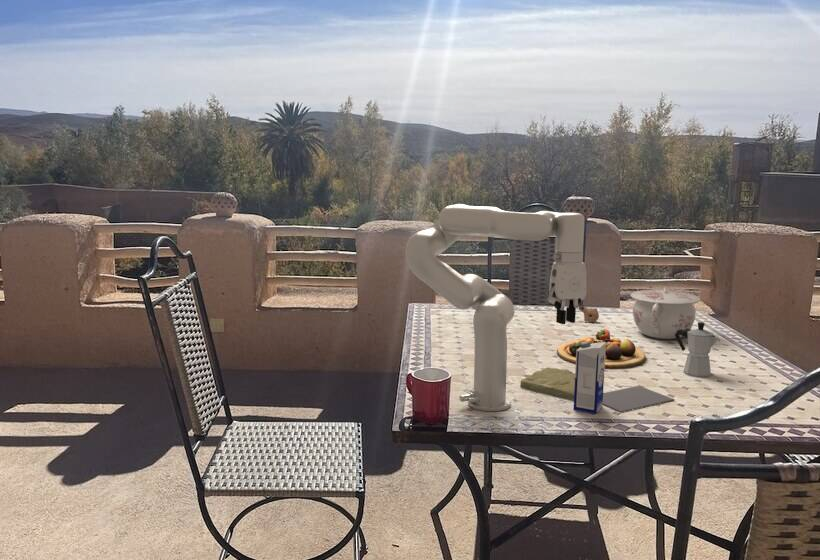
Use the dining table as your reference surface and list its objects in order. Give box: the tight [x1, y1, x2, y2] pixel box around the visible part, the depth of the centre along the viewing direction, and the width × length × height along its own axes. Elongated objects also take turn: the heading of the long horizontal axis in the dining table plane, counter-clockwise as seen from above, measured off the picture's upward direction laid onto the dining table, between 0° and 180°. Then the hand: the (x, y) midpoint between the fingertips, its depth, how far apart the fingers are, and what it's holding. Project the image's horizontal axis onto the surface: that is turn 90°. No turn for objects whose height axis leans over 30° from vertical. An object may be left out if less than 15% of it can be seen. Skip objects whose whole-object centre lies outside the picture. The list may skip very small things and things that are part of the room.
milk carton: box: [573, 342, 606, 415], centre depth 195 cm, size 7×7×20 cm
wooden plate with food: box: [556, 328, 647, 370], centre depth 250 cm, size 32×32×8 cm
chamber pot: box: [629, 286, 701, 341], centre depth 278 cm, size 28×28×21 cm
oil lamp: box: [578, 304, 600, 324], centre depth 302 cm, size 9×4×8 cm, turn 75°
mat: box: [602, 385, 675, 413], centre depth 205 cm, size 22×14×1 cm, turn 118°
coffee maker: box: [675, 321, 720, 378], centre depth 229 cm, size 15×9×18 cm, turn 45°
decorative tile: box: [520, 367, 575, 401], centre depth 216 cm, size 19×20×4 cm
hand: (565, 322), depth 188 cm, fingers open, 2 cm apart
